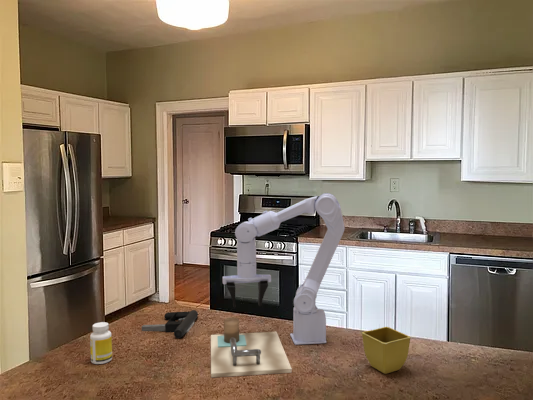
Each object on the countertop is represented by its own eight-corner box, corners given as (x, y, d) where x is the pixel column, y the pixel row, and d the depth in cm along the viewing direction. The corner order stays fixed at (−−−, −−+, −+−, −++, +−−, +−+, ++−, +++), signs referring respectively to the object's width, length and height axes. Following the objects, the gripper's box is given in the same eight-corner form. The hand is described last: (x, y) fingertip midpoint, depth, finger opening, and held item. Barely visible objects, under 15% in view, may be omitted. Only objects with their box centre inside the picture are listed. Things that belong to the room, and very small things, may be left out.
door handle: (134, 330, 137) (186, 329, 136) (156, 310, 157) (201, 308, 156) (135, 341, 138) (186, 339, 136) (156, 319, 157) (202, 318, 156)
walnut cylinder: (239, 342, 130) (239, 322, 129) (224, 343, 129) (223, 323, 129) (238, 336, 134) (238, 317, 133) (223, 337, 133) (223, 317, 133)
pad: (244, 335, 136) (244, 334, 136) (246, 346, 128) (246, 344, 128) (217, 337, 135) (217, 336, 135) (218, 347, 127) (218, 346, 127)
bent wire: (257, 348, 126) (257, 335, 126) (261, 364, 116) (261, 350, 115) (229, 350, 125) (229, 336, 125) (231, 366, 115) (231, 352, 114)
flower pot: (383, 379, 110) (384, 343, 109) (360, 365, 117) (360, 331, 117) (410, 372, 114) (411, 336, 113) (386, 359, 121) (387, 326, 121)
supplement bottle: (116, 358, 123) (115, 322, 122) (101, 366, 118) (100, 329, 117) (101, 354, 125) (100, 320, 124) (86, 362, 120) (84, 326, 119)
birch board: (276, 334, 139) (276, 331, 139) (291, 372, 114) (291, 368, 113) (210, 338, 137) (210, 334, 137) (211, 377, 111) (211, 373, 111)
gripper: (268, 258, 141) (269, 301, 142) (221, 260, 139) (222, 303, 140) (272, 262, 134) (272, 307, 135) (222, 264, 132) (223, 310, 133)
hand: (247, 306), depth 137 cm, fingers open, 7 cm apart
